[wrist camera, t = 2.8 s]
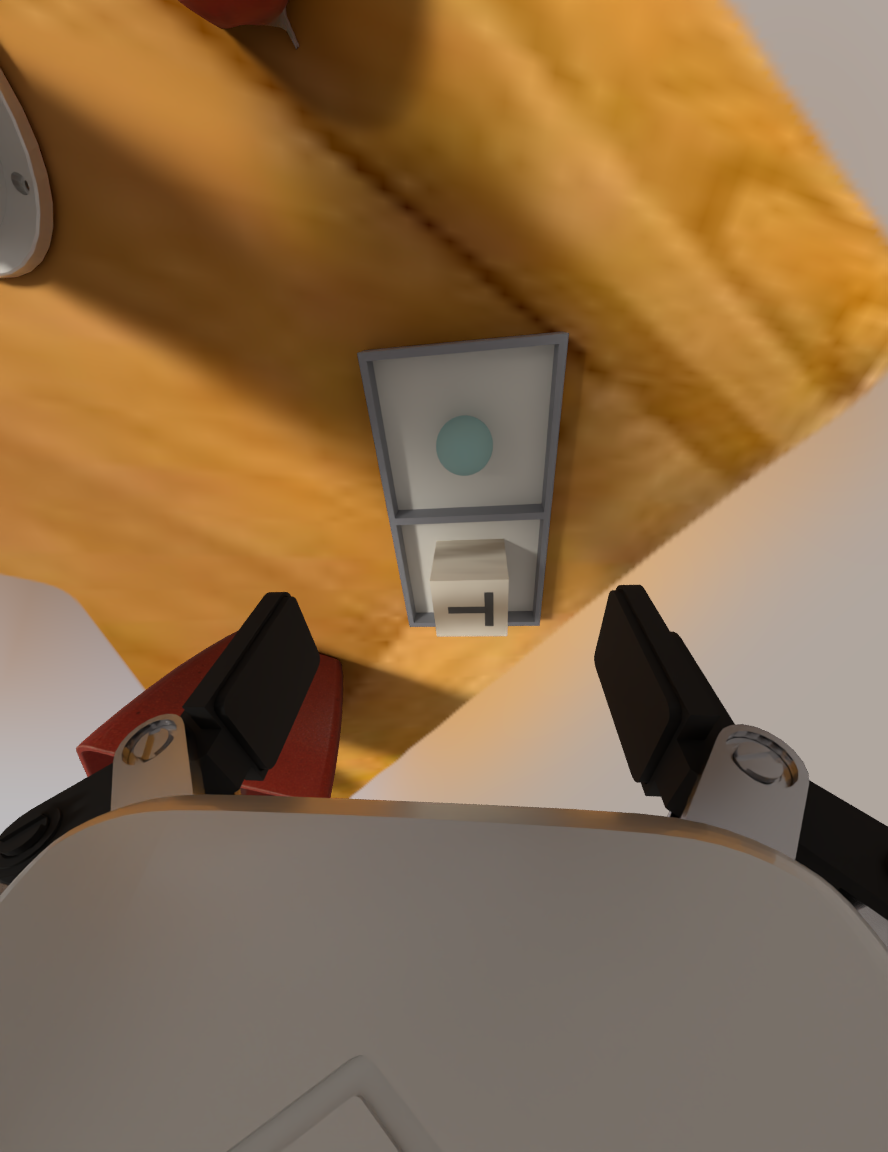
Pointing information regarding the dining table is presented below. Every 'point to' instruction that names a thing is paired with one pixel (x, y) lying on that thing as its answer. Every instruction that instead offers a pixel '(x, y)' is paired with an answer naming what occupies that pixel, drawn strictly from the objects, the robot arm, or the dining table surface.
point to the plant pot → (304, 752)
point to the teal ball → (464, 445)
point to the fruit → (243, 13)
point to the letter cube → (470, 588)
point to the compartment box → (494, 494)
